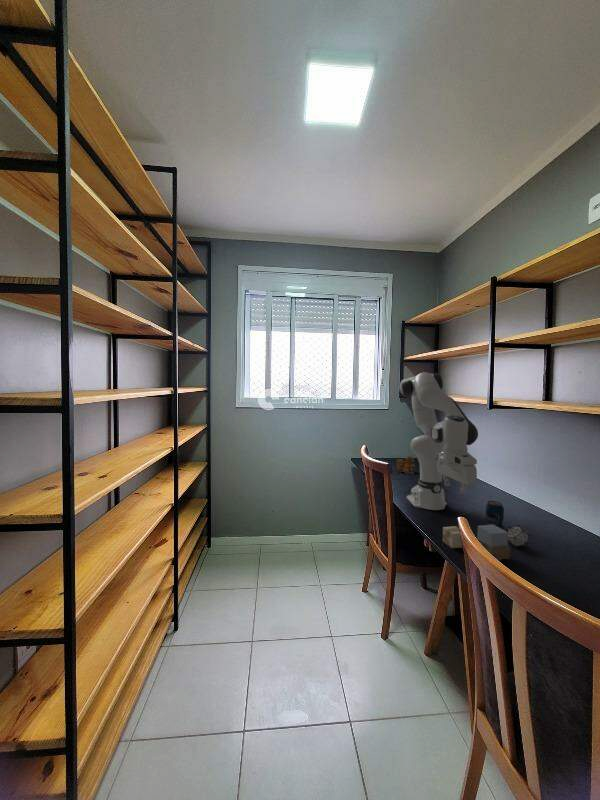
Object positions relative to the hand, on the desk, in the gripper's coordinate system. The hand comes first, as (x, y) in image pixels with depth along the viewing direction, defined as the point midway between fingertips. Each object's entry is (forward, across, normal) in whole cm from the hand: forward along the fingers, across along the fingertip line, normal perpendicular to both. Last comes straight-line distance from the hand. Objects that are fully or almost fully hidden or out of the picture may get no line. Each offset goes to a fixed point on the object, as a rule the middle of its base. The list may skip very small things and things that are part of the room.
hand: (454, 489), depth 128 cm
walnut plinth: (+23, +10, +9) cm, 26 cm away
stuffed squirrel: (+22, -104, +35) cm, 112 cm away
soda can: (+23, -9, +27) cm, 37 cm away
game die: (+23, +6, +24) cm, 34 cm away
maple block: (+23, 0, 0) cm, 23 cm away
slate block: (+18, +10, +9) cm, 22 cm away
